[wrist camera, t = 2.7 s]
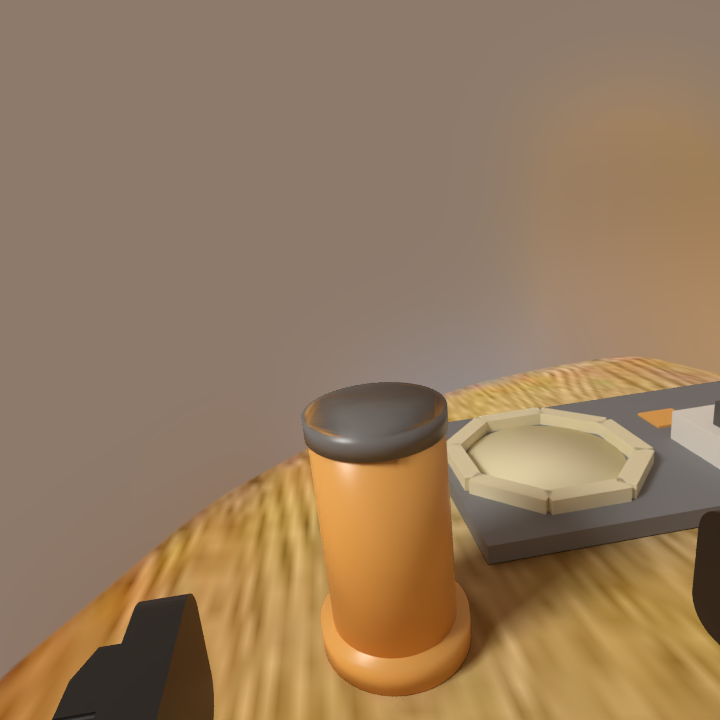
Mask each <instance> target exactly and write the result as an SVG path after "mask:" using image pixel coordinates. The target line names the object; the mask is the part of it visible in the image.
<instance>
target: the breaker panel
mask: <svg viewBox="0 0 720 720" xmlns="http://www.w3.org/2000/svg"><path fill="white" fill-rule="evenodd" d="M478 417H479V418H473V419H466V420H460V421H453V422H448V430H447V433H446V442H447V458H448V474H449V490H450V496H451V497H452V499H453V501H454V503H455V505H456V507H457V508H458V510H459V512H460V514H461V516H462V517H463V519H464V521H465V523H466V525H467V526H468V528H469V530H470V532H471V534H472V535H473V537H474V539H475V541H476V543H477V545H478V546H479V548H480V550H481V552H482V554H483V555H484V557H485V559H486V561H487V563H488V564H493V563H499V562H505V561H510V560H516V559H522V558H527V557H533V556H538V555H544V554H550V553H555V552H561V551H566V550H572V549H578V548H583V547H589V546H595V545H600V544H606V543H611V542H617V541H623V540H628V539H634V538H640V537H645V536H651V535H656V534H662V533H668V532H673V531H679V530H684V529H690V528H696V527H699V522H700V519H701V517H702V516H703V515H704V514H705V513H707V512H709V511H716V510H720V381H717V382H710V383H703V384H697V385H690V386H684V387H677V388H670V389H664V390H657V391H651V392H644V393H637V394H631V395H624V396H618V397H611V398H605V399H598V400H591V401H585V402H578V403H572V404H565V405H558V406H552V407H545V408H543V407H542V408H530V409H524V410H517V411H510V412H504V413H497V414H491V415H484V416H478Z"/></svg>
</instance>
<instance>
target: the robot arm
mask: <svg viewBox="0 0 720 720" xmlns="http://www.w3.org/2000/svg"><path fill="white" fill-rule="evenodd" d="M692 596H693V602H694V606H695V610H696V612H697V615H698V617H699V619H700V621H701V623H702V625H703V626H704V628H705V629H706V631H707V632H708V633H709V634H710V635H711V636H712V638H713V639H714V640H715V641H716V642H717V643H718V644H719V645H720V510H716V511H709V512H707V513H705V514H704V515H703V516H702V517H701V519H700V522H699V528H698V538H697V548H696V559H695V569H694V579H693V590H692ZM213 717H214V692H213V681H212V675H211V670H210V665H209V660H208V655H207V650H206V646H205V641H204V636H203V631H202V626H201V622H200V617H199V612H198V607H197V603H196V600H195V598H194V596H193V594H185V595H179V596H173V597H167V598H160V599H154V600H148V601H142V602H139V603H138V604H137V605H136V607H135V609H134V611H133V614H132V616H131V619H130V622H129V625H128V627H127V630H126V633H125V635H124V638H123V641H122V643H121V644H116V645H110V646H104V647H99V648H98V649H97V650H96V651H95V653H94V654H93V655H92V656H91V657H90V658H89V659H88V660H87V662H86V663H85V664H84V665H83V666H82V667H81V668H80V670H79V671H78V672H77V673H76V674H75V675H74V676H73V678H72V679H71V680H70V681H69V683H68V685H67V688H66V690H65V692H64V694H63V697H62V699H61V701H60V703H59V705H58V708H57V710H56V712H55V714H54V717H53V719H52V720H213Z"/></svg>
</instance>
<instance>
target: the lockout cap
mask: <svg viewBox="0 0 720 720" xmlns="http://www.w3.org/2000/svg"><path fill="white" fill-rule="evenodd" d="M301 419H302V425H303V433H304V439H305V443H306V445H307V446H308V448H309V455H310V462H311V469H312V476H313V482H314V489H315V496H316V503H317V510H318V517H319V524H320V531H321V538H322V545H323V551H324V558H325V565H326V572H327V579H328V586H329V594H328V595H327V597H326V599H325V601H324V604H323V607H322V611H321V625H322V632H323V638H324V645H325V651H326V655H327V657H328V660H329V662H330V664H331V665H332V667H333V669H334V670H335V671H336V672H337V674H338V675H340V676H341V677H342V678H343V679H344V680H345V681H347V682H348V683H350V684H351V685H353V686H355V687H357V688H359V689H361V690H363V691H366V692H369V693H373V694H378V695H384V696H405V695H412V694H417V693H420V692H424V691H427V690H429V689H432V688H434V687H436V686H438V685H440V684H441V683H443V682H444V681H446V680H447V679H449V678H450V677H451V676H452V675H453V674H454V673H455V672H456V671H457V670H458V669H459V668H460V666H461V665H462V664H463V662H464V660H465V659H466V657H467V654H468V651H469V649H470V643H471V623H470V608H469V602H468V599H467V596H466V594H465V592H464V590H463V589H462V587H461V586H460V585H459V584H458V582H457V581H456V580H455V570H454V554H453V538H452V522H451V506H450V490H449V474H448V458H447V442H446V433H447V430H448V412H447V402H446V399H445V398H444V397H443V396H442V395H441V394H440V393H439V392H437V391H435V390H433V389H431V388H428V387H425V386H421V385H416V384H410V383H400V382H379V383H368V384H361V385H355V386H351V387H346V388H342V389H339V390H336V391H333V392H330V393H328V394H325V395H323V396H321V397H319V398H317V399H316V400H314V401H313V402H311V403H310V404H309V405H308V406H307V407H306V408H305V409H304V411H303V413H302V416H301Z"/></svg>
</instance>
